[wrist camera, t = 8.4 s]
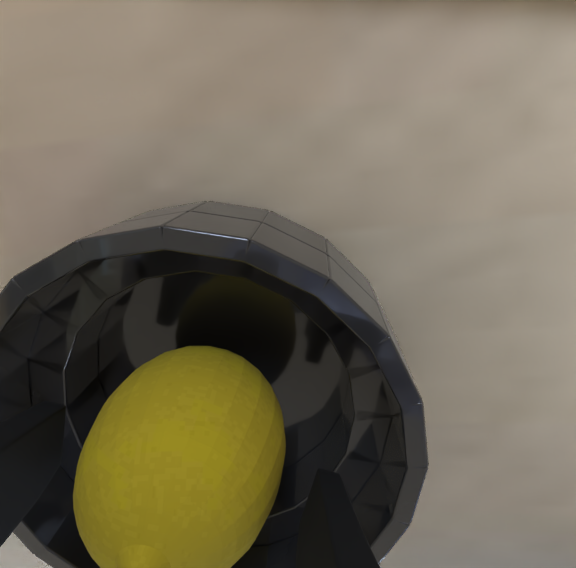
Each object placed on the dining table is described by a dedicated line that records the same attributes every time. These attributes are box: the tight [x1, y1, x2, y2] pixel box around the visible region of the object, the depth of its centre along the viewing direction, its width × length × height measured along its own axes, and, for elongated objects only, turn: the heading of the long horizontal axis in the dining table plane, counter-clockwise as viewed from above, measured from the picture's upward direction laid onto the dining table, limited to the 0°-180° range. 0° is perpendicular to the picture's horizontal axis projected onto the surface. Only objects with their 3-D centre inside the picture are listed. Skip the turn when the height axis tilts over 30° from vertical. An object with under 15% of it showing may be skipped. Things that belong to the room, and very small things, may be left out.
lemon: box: [73, 346, 286, 568], centre depth 12 cm, size 6×6×8 cm
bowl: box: [0, 201, 429, 568], centre depth 14 cm, size 13×13×5 cm
